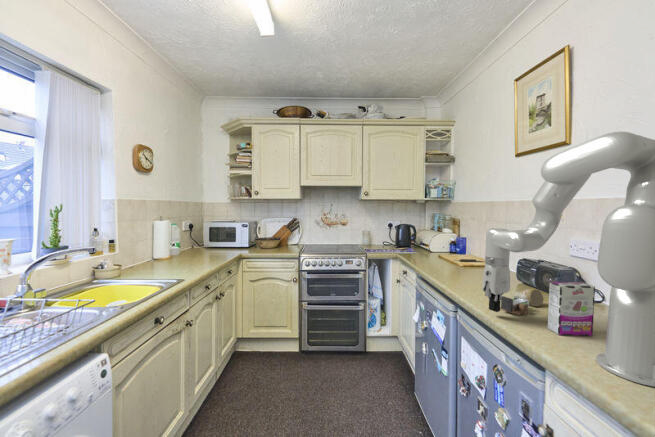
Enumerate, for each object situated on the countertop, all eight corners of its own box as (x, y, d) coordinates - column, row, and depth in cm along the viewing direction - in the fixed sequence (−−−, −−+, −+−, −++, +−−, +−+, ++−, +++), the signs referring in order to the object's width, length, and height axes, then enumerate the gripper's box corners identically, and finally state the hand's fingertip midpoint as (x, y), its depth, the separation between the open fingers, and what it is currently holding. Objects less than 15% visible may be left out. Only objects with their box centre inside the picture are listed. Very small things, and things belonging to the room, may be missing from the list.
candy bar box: (578, 329, 90) (582, 281, 89) (593, 336, 85) (596, 286, 84) (545, 328, 90) (548, 281, 89) (558, 335, 85) (561, 285, 84)
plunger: (512, 312, 100) (513, 300, 99) (499, 307, 104) (499, 296, 104) (528, 307, 105) (529, 296, 105) (514, 303, 109) (515, 292, 109)
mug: (520, 298, 120) (534, 282, 115) (535, 315, 111) (552, 299, 107) (506, 295, 119) (520, 279, 114) (521, 312, 110) (537, 295, 106)
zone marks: (561, 310, 106) (561, 310, 106) (553, 313, 103) (553, 313, 103) (517, 297, 120) (517, 297, 120) (509, 299, 117) (509, 299, 117)
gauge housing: (519, 315, 100) (519, 306, 100) (499, 309, 106) (500, 300, 106) (528, 313, 103) (528, 304, 103) (508, 306, 109) (508, 298, 109)
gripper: (495, 265, 91) (492, 318, 92) (519, 262, 97) (516, 310, 99) (474, 261, 97) (472, 310, 98) (498, 258, 104) (495, 303, 105)
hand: (494, 310), depth 98 cm, fingers closed
